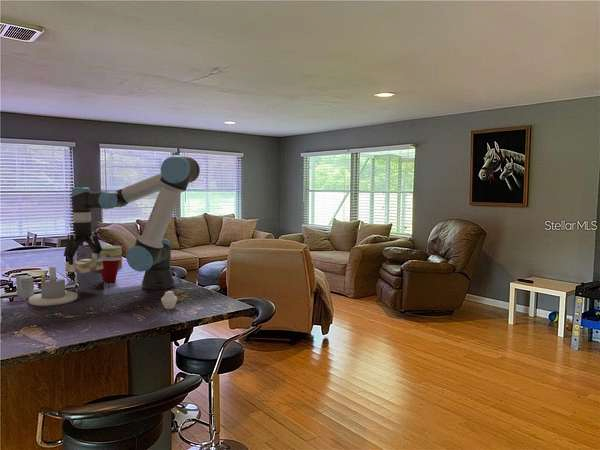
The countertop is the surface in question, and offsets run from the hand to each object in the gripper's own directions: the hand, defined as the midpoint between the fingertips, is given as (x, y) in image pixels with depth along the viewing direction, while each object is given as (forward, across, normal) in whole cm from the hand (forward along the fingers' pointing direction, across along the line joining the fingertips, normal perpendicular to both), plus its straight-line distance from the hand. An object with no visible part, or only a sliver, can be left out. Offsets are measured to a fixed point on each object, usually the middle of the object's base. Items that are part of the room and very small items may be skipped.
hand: (84, 269), depth 204 cm
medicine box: (+9, +21, -12) cm, 25 cm away
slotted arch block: (0, 0, 0) cm, 0 cm away
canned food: (+9, -44, -33) cm, 55 cm away
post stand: (+9, +18, +3) cm, 21 cm away
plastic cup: (+10, -18, -5) cm, 21 cm away
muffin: (+11, +4, +53) cm, 55 cm away
